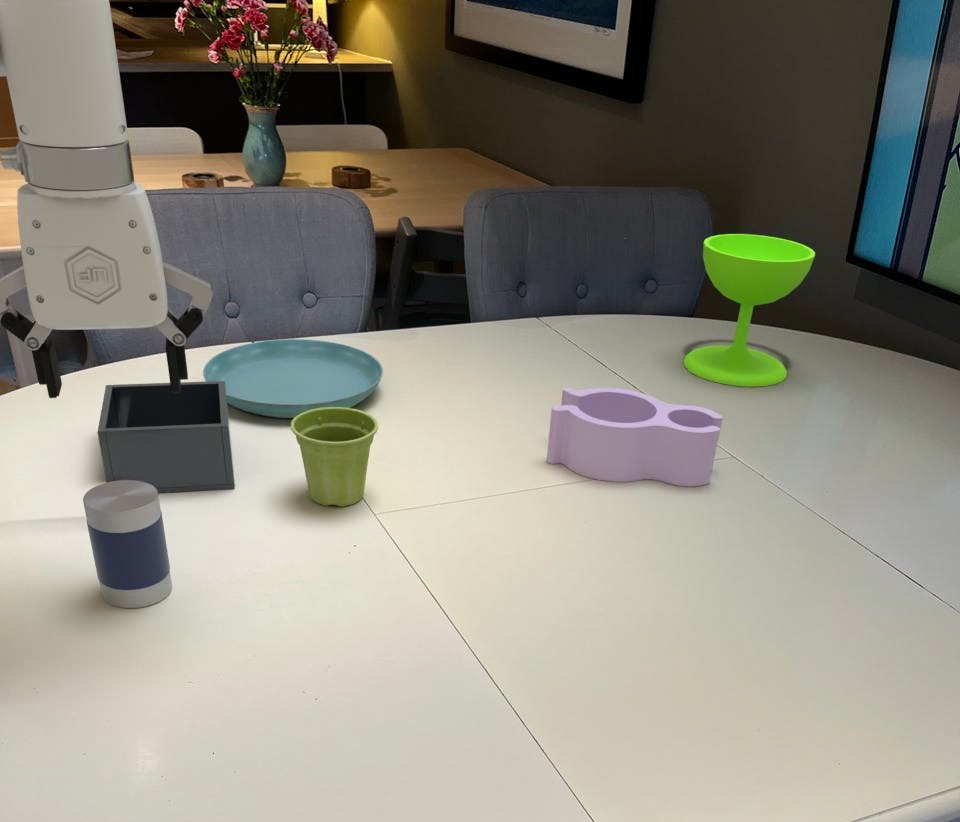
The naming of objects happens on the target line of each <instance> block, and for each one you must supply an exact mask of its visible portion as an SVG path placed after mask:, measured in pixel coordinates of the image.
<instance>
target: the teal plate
mask: <svg viewBox="0 0 960 822" xmlns="http://www.w3.org/2000/svg"><path fill="white" fill-rule="evenodd" d="M383 375H384V369H383V366H382V363H380V361H379V360H378V359H376V358H375V357H374V356H373V355H372V354H370V353H368V352H366V351H364V350H362V349H359V348H357V347H354V346H350V345H346V344H342V343H338V342H332V341H326V340H317V339H304V338H303V339H302V338H301V339H300V338H285V339H284V338H282V339H271V340H263V341H256V342H250V343H246V344H240V345H238V346H234V347H231V348H229V349H226V350H224V351H221V352H220V353H219V352H218V354H216V355H214V356H213V357H211V358H210V359H209V360H208V361H207V362H206V363H205V365H204V367H203V370H202V376H203V378H204V381H205V382H207V381H225V385H226V395H227V404H229V405H231V406H232V407H235V408H237V409H238V410H242V411H243V412H248V413H251V414H254V415H258V416H263V417H270V418H279V419H294V418H295V417H296V416H298V415H299V414H301V413H303V412H306V411H309V410H312V409H317V408H325V407H344V408H353V407H354V406H356V405H358V404H359V403H361V402H362V401H364V400H365V399H366V398H368V397H369V396H370V395H371V394H372V393H373V392H374V391H375V389H376V388H377V387H378V385H379V384H380V382H381V380H382V377H383Z"/></svg>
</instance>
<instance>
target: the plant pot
mask: <svg viewBox="0 0 960 822" xmlns="http://www.w3.org/2000/svg"><path fill="white" fill-rule="evenodd" d="M290 429H291V431H292V433H293V434H294V436H295V438H296V442H297V444H298V445H299V448H300V454H301V459H302V464H303V468H304V469H303V470H304V473H305V479H306V483H307V489H308V495H309V497H310V499H311V500H312V501H313V502H315V503H316V504H319V505H322V506H326V507H327V506H330V505H333V506H338V507H347V506H348V507H349V506H352V505H354V504H356V503H358V502H359V501H361V500H362V499H363V496H364V494H365V488H366V480H367V472H368V465H369V457H370V450H371V445H372V444H373V443H374V437H375V435H376V434H377V432H378V429H379V422H378V420H377V419H376V418H375V417H374V416H373V415H372V414H371V413H368V412H366V411H364V410H360V409H356V408H352V407H350V408H344V407H325V408H317V409H312V410H309V411H306V412H303V413H301V414H299V415H298V416H296V417H295V418H292V420H291V422H290Z"/></svg>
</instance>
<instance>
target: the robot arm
mask: <svg viewBox="0 0 960 822" xmlns="http://www.w3.org/2000/svg"><path fill="white" fill-rule="evenodd" d="M111 10H112V9H111V5H110V0H0V78H1V77H6V81H7V86H8V89H9V95H10V100H11V105H12V111H13V115H14V120H15V126H16V131H17V135H18V140H19V141H17V144H16V145H15V146H11V148H0V161H1V164H2V169H3V170H14V171H15V172H20V175H21V176H24V182H26V183H25V184H23V185H21V186H20V187H19V188H17V195H16V201H17V202H16V204H17V208H16V209H17V221H18V222H17V223H18V226H17V227H18V235H19V243H20V251H21V252H20V253H21V260H22V265H21V266H20V267H18V268H16V269H15V270H13V271H11V272H9V273H8V274H6V275H4V276H2V277H0V325H1V326H2V327H3V328H4V330H6V331H8V332H9V333H10V334H12V335H13V336H15V337H16V338H17V339H19V340H20V341H21V342H23V343H24V346H25V347H26V348H27V349H28V350H30V351H31V354H32V359H33V363H34V369H35V372H36V373H35V374H36V377H37V383H38V384H39V385H40V386H41V385H42V386H45V385H46V390H47V394H48V398H49V399H56V398H57V397H59V396H60V393H61V390H62V385H63V381H62V377H61V372H60V365H59V362H58V356H57V351H56V348H55V347H56V345H55V341H54V340H52V338H51V337H50V336H49V335H50V334H51V332H52V331H53V330H57V331H58V330H59V331H60V330H61V331H76V330H77V331H78V330H79V331H80V330H82V331H83V330H84V331H85V330H117V329H119V330H121V329H122V330H123V329H145V328H146V329H147V328H153V327H155V329H157V330H158V331H159V332H160V333H161V334H162V335H163V336H164V337H165V354H166V362H167V369H168V378H169V383H170V385H171V392H174V393H180V389H181V382H182V380H189V373H188V363H187V356H186V348H185V344H186V342H187V340H188V339H189V338H190V336H191V335H192V334H193V333H194V332H195V331H196V330H197V329H198V328H199V327H200V325H201V324H203V321H204V317H205V315H206V313H207V310H208V308H209V306H210V303H211V301H212V298H213V296H214V288H213V286H212V284H211V283H209V282H207V281H205V280H203V279H200V278H199V277H197V276H195V275H193V274H191V273H188V272H186V271H184V270H182V269H180V268H178V267H176V266H173V265H171V264H170V263H167V262H165V261H164V259H163V256H162V255H163V254H162V249H161V244H160V240H159V235H158V230H157V226H156V222H155V219H154V214H153V210H152V207H151V204H150V200H149V198H148V195H147V192H146V189H145V186H144V185H142V184H141V183H139V182H135V181H136V180H135V174H134V169H133V160H132V154H131V146H130V140H129V132H128V126H127V118H126V117H127V116H126V111H125V103H124V97H123V91H122V83H121V76H120V68H119V62H118V54H117V47H116V39H115V32H114V24H113V18H112V11H111ZM168 285H169V286H170V287H173V288H174V289H176V290H179V291H181V292H183V293H185V294H187V295H189V296H191V298H192V299H191V302H190V304H189V307H187V309H186V310H185V311H184V312H183V313H182V314H181V316H180V317H178V316H177V315H175V313H174V312H173V311H172V310H171V309H170V308H169V302H168ZM25 288H26V292H27V297H28V301H29V308H30V310H31V314H32V317H33V319H34V320H33V321H31V320H30V319H29V318H27V317H25V315H23V314H22V313H20V311H18V310H16V309H15V308H14V307H13V305H12V304H11V303H12V302H10V300H9V298H10V297H11V296H13V295H15V294H17V293H19V292H20V291H23V290H24V289H25Z"/></svg>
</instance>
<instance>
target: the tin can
mask: <svg viewBox="0 0 960 822" xmlns="http://www.w3.org/2000/svg"><path fill="white" fill-rule="evenodd" d="M82 502H83V503H82V504H83V508H84V512H85V517H86V525H87V531H88V536H89V541H90V545H91V549H92V550H91V551H92V555H93V560H94V561H93V562H94V565H95V571H96V576H97V579H98V582H99V588H100V592H101V597H102V599H103V601H105V602H106V603H107V604H109V605H111V606H114V607H117V608H121V609H139V608H145V607H150V606H153V605H155V604H158V603H159V602H162V601H164V600H165V599H166V598H167V597H168V596H169V595H170V594H171V592H172V591H173V590H172V589H173V582H172V576H171V575H172V574H171V565H170V560H169V559H170V558H169V552H168V545H167V539H166V531H165V526H164V519H163V512H162V509H161V502H160V496H159V493H158V491H157V489H156V488H155V487H154V486H152V485H151V484H148V483H146V482H142V481H136V480H119V481H112V482H104V483H100V484H98V485H96V486H94V487H93V486H92V488H90V489H89V490H87V491H86V492H85V493H84V494H83V497H82Z"/></svg>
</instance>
